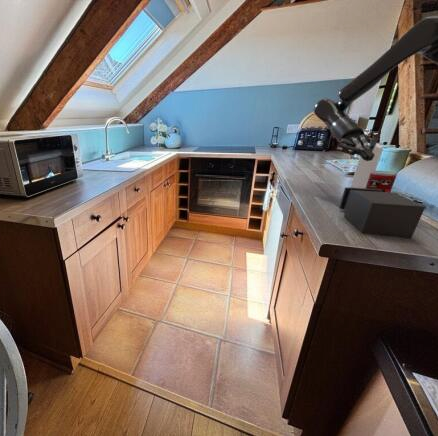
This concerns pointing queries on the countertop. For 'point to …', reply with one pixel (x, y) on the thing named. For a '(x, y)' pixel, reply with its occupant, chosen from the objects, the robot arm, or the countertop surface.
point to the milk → (366, 168)
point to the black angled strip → (348, 193)
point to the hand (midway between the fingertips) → (370, 158)
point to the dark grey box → (383, 213)
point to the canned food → (381, 180)
